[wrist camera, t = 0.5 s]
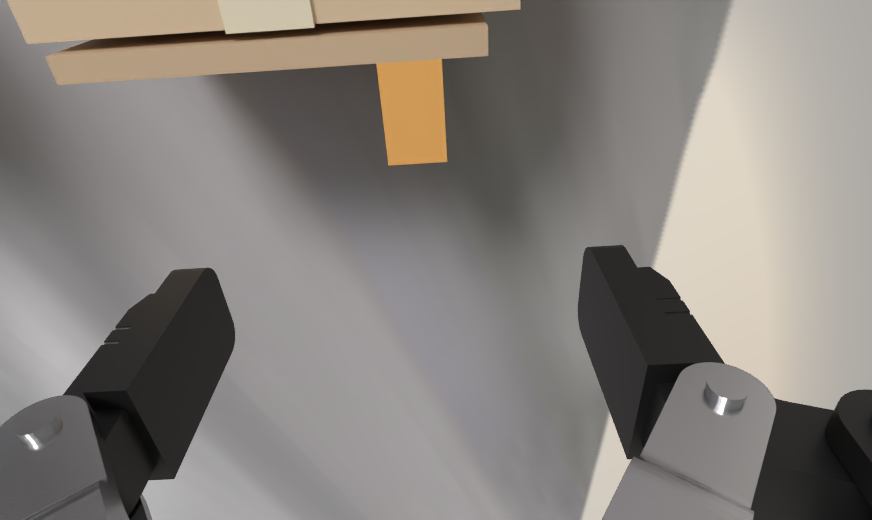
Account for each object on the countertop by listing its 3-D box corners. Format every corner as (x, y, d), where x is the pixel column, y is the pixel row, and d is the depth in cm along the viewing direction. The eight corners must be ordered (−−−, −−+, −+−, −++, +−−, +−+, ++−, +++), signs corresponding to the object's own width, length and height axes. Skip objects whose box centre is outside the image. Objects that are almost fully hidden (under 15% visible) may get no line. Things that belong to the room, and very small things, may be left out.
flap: (170, 11, 28) (45, 57, 19) (468, -10, 28) (488, 26, 19) (199, 104, 31) (101, 183, 22) (471, 86, 31) (488, 159, 21)
